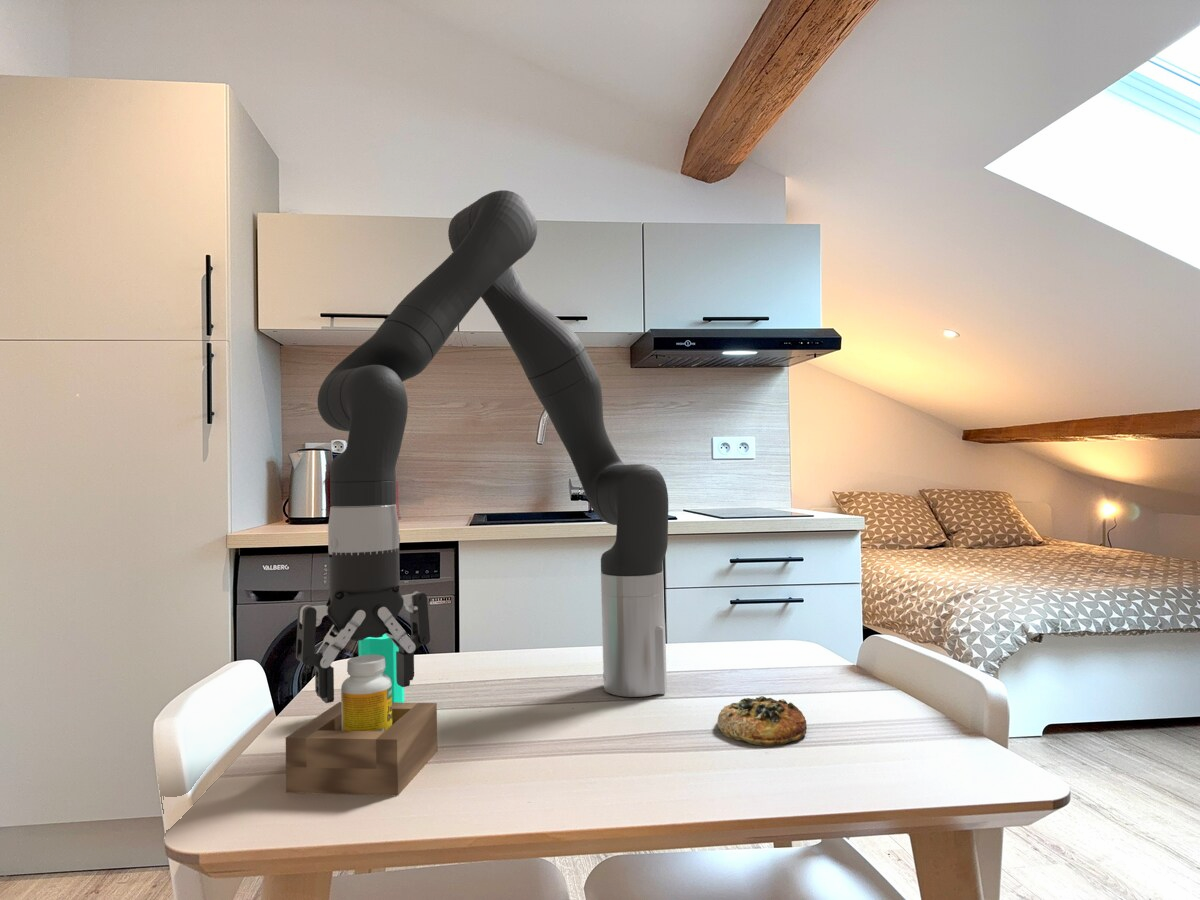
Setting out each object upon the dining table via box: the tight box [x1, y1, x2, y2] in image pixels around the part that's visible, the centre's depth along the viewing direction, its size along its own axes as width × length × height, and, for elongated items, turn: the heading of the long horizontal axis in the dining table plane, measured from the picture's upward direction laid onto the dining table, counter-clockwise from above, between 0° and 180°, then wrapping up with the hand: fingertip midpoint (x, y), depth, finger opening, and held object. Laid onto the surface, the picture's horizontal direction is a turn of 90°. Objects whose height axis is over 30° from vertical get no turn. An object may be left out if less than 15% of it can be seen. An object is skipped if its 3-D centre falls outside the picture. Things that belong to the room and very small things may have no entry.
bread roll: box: [717, 695, 808, 747], centre depth 92 cm, size 11×11×5 cm
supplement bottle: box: [340, 655, 392, 731], centre depth 83 cm, size 5×5×10 cm
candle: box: [357, 634, 406, 703], centre depth 103 cm, size 6×6×12 cm
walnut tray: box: [285, 701, 439, 797], centre depth 82 cm, size 12×12×6 cm
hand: (366, 693), depth 83 cm, fingers open, 8 cm apart
